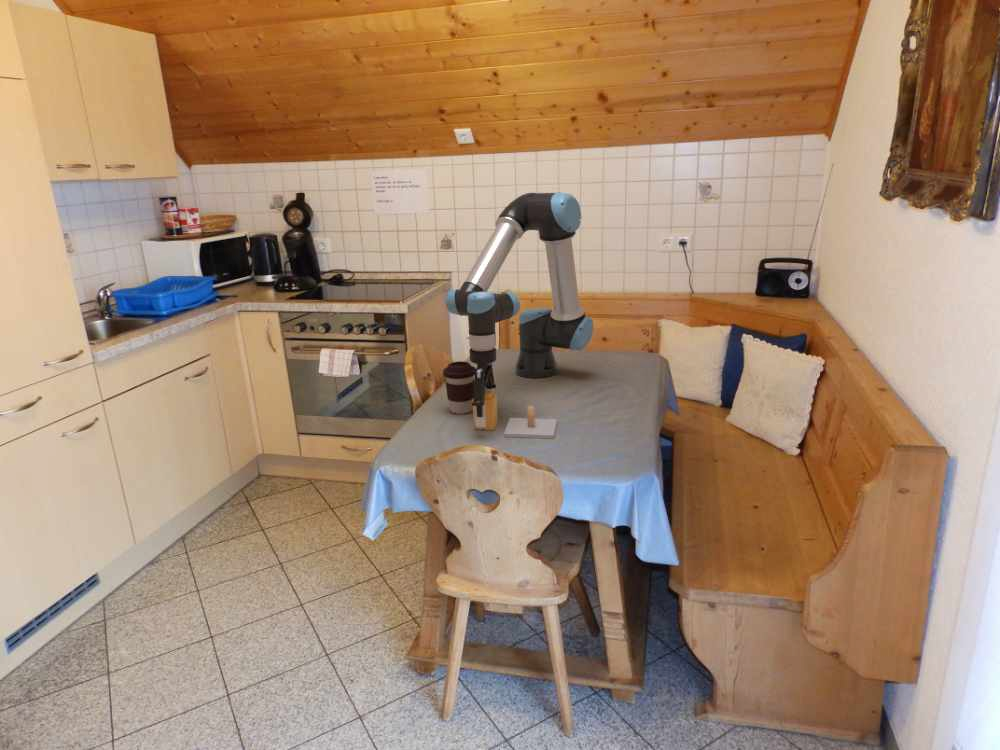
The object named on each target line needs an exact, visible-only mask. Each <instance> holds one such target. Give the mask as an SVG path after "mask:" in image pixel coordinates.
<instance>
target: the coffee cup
mask: <svg viewBox="0 0 1000 750" xmlns="http://www.w3.org/2000/svg"><path fill="white" fill-rule="evenodd" d="M475 370H476V367H475V366H473V365H472V364H471V363H470V362H467V361H452V362H450V363H448V365H447V366H446V367H445V368H443V370H442V375H443V377H445V389H446V394H447V395H446V397H447V400H448V405H449V406H448V407H449V411H450V412H451V413H453V414H455V413H456V414H455V415H457V414H458V415H464V413H465V414H468V412H469V413H471V412H473V406H472V403H473V399H474V380H475V373H474V372H475Z"/></svg>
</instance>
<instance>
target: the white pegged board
mask: <svg viewBox="0 0 1000 750" xmlns="http://www.w3.org/2000/svg"><path fill="white" fill-rule="evenodd" d="M526 412H527V413H526V414H527V415H526V418H525V417H524V418H523V417H509V419H508V421H507V425H506V427H505V429H504V432H503V438H525V439H548V440H549V439H550V440H551V439H554V438H555V434H556V431H557V426H558V419H557V418H535V405H527V406H526Z"/></svg>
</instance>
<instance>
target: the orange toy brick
mask: <svg viewBox="0 0 1000 750" xmlns="http://www.w3.org/2000/svg"><path fill="white" fill-rule="evenodd" d="M477 402H480V401H477ZM484 405H485V419H486V427H476V418H475V406H473V410H472V415H473V417H472V418H473V420H472V421H473V430H474V429H485V430H484V431H495V429H496V428H497V425H498V422H499V421H498V420H499V419H498V395H497V393H494V394H492V392H491V391H485V398H484Z"/></svg>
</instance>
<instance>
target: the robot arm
mask: <svg viewBox="0 0 1000 750" xmlns="http://www.w3.org/2000/svg"><path fill="white" fill-rule="evenodd" d="M581 220H582V210H581V207H580V203H579V201H578V200H577V198H576V197H574V195H573V194H571V193H565V192H564V193H563V192H528V193H524V194H522V195H519V196H518V197H516V198H514V199H513V200H512V201H511V202H509V204H508V205H507V206H506V207H505V208H504V209H503V210H502V212H500V214H499V215H498V217H497V218H496V221H495V229H494V230H493V232H492V234H491V235H490V237H489V239H488V241H487V242H486V244H485V245H484V247H483V249H482V251H481V253H480V254H479V256H478V258H477V260H475V263H474V264H473V267H471V270H470V271H469V273H468V274H467V276H466V278H465V280H464V281H463V283H462V285H461V286H460V288H459V289H458V288H456V289H451V290H450V291H448V293H447V295H446V298H445V307H446V309H447V311H448V312H449V314H453V315H457V316H461V317H462V316H463V317H464V316H466V317H467V319H468V335H467V336H466V339H467V340H468V346H469V350H468V351H469V361H470V362H471V363H472V364H475V365H477V366H476V367H475V369H476V370H475V372H474V373H475V375H474V398H473V403H472V406H475V418H476V427H486V419H485V405H484V398H485V391H491V392H492V394H495V393H494V389H496V388H497V385H496V384H495V383H496V382H495V377H494V370H493V369H494V368H493V363H495V362H496V361H497V348H496V346H497V334H496V323H499V322H502V321H505V320H510V319H511V318H512V317H514V316H516V315H517V314H519V311H520V309H521V302H520V299H519V297H518V296H517V294H515V293H514V292H512V291H503V292H501V293H495V292H491V291H490V292H489V289H490V287H491V286H492V284H493V282H494V280H495V278H496V276H497V274H498V273H499V271H500V269H501V268H502V266H503V264H504V263H505V261H506V259H507V257H508V256H509V254H510V252H511V250H512V248H513V247H514V245H515V243H516V242H517V241H518V240H520V239H521V238H522V237H523V235H524V234H525V233H526V232H529V231H536V232H537V231H538V237H539V240H540V241H541V242H543V243H544V244H545V245H544V246H545V253H546V258H547V260H546V261H547V267H548V275H549V283H550V288H551V296H552V305H553V309H552V308H551V307H547V306H546V307H545V306H544V307H536V308H535V307H534V308H530V309H529V308H528V309H526V310H523V311H521V312H520V314H519V319H518V321H519V322H518V329H519V354H518V356H517V360H516V362H515V363H516V364H515V374H516V375H518V376H520V377H524V378H529V379H541V378H548V377H551V376H554V375H556V374H557V373H558V364H557V360H556V359H555V356H554V355H555V354H554V353H553V352H554V351H553V348H558V349H565V350H570V351H583V350H584V349H586V347H587V346H588V345H589V344H590V341H591V339H592V336H593V332H594V321H593V319H592V318H591V317H590V316H586V310H585V308H584V307H583V306H581V305H580V299H579V297H580V296H579V291H578V283H577V281H578V280H577V273H576V264H575V257H574V256H575V255H574V249H573V240H572V239H573V238H574V237H575V236H576V233H577V232H576V231H578V229H579V228H580V226H581ZM477 401H480V402H477Z"/></svg>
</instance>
